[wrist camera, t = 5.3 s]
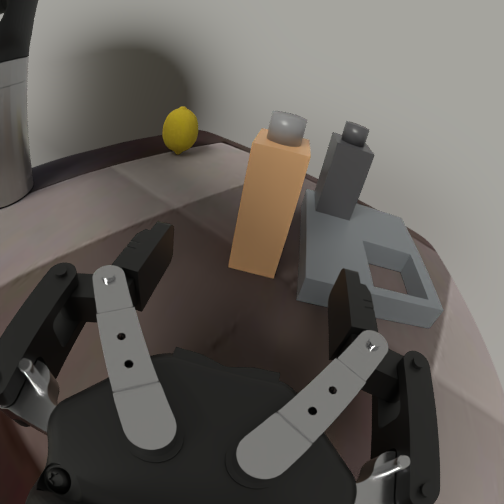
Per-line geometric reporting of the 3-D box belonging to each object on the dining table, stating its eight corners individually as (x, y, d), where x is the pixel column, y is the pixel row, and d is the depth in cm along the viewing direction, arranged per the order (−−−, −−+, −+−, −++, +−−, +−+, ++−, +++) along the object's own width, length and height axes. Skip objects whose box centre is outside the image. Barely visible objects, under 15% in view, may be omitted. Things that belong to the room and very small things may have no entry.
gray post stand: (296, 300, 24) (351, 153, 16) (301, 206, 37) (328, 113, 30) (429, 328, 24) (502, 218, 16) (393, 233, 37) (429, 150, 30)
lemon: (154, 153, 44) (157, 105, 39) (179, 146, 47) (185, 102, 43) (175, 163, 41) (181, 111, 37) (202, 156, 45) (208, 108, 41)
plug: (228, 267, 25) (258, 114, 18) (239, 236, 29) (266, 105, 22) (273, 278, 25) (318, 129, 18) (278, 245, 29) (315, 117, 22)
